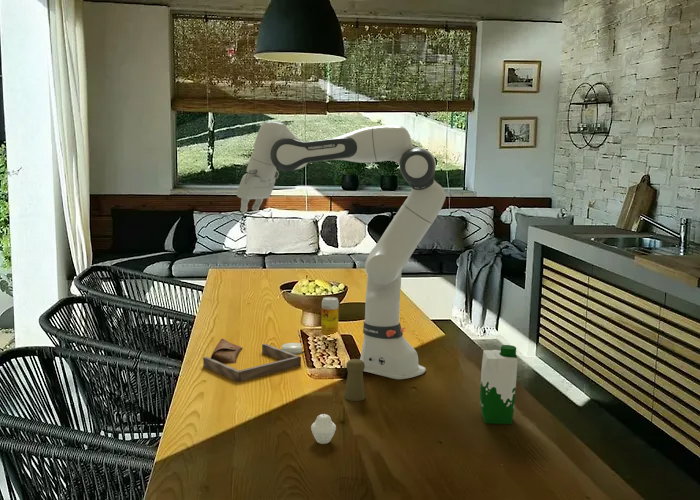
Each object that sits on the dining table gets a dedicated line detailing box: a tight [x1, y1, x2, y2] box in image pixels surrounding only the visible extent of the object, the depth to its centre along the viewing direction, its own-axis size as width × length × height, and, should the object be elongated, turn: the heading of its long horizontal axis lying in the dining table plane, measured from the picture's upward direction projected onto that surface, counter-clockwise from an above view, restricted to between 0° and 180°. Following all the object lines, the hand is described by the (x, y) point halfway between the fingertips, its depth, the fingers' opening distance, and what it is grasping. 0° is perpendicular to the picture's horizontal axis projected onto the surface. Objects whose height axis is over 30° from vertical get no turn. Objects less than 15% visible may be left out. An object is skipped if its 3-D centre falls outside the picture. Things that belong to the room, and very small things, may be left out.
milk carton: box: [479, 344, 519, 425], centre depth 200 cm, size 9×9×20 cm
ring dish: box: [281, 342, 302, 355], centre depth 258 cm, size 8×8×2 cm
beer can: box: [320, 296, 340, 335], centre depth 272 cm, size 6×6×15 cm
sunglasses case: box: [210, 338, 243, 364], centre depth 250 cm, size 18×7×7 cm, turn 2°
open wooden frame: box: [202, 343, 302, 383], centre depth 240 cm, size 19×24×3 cm
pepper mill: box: [343, 358, 366, 402], centre depth 214 cm, size 6×6×11 cm
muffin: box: [310, 413, 337, 445], centre depth 184 cm, size 6×6×7 cm
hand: (249, 211), depth 242 cm, fingers open, 8 cm apart
